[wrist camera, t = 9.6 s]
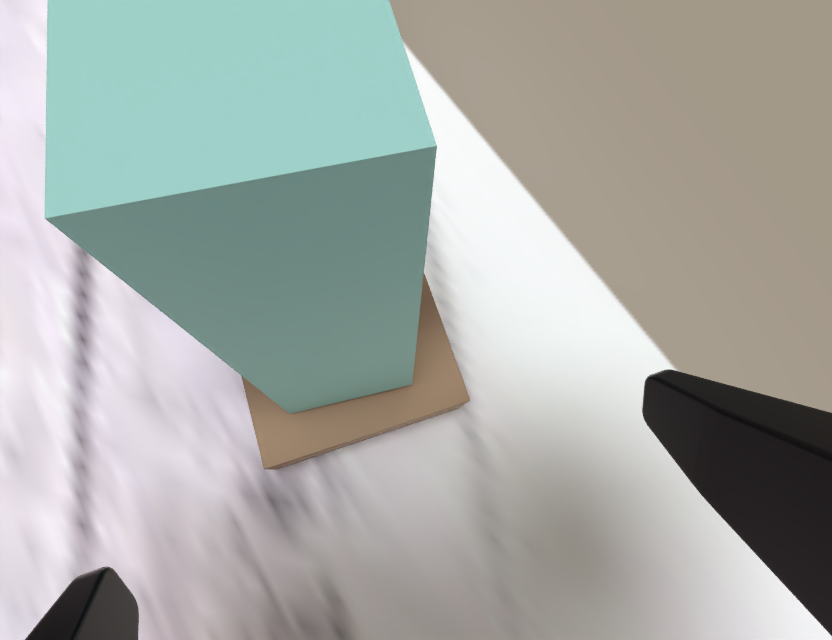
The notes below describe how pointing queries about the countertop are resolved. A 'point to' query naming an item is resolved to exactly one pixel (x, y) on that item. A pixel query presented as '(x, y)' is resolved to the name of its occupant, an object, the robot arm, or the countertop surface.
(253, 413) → the walnut slab
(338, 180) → the teal block
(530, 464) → the countertop surface
